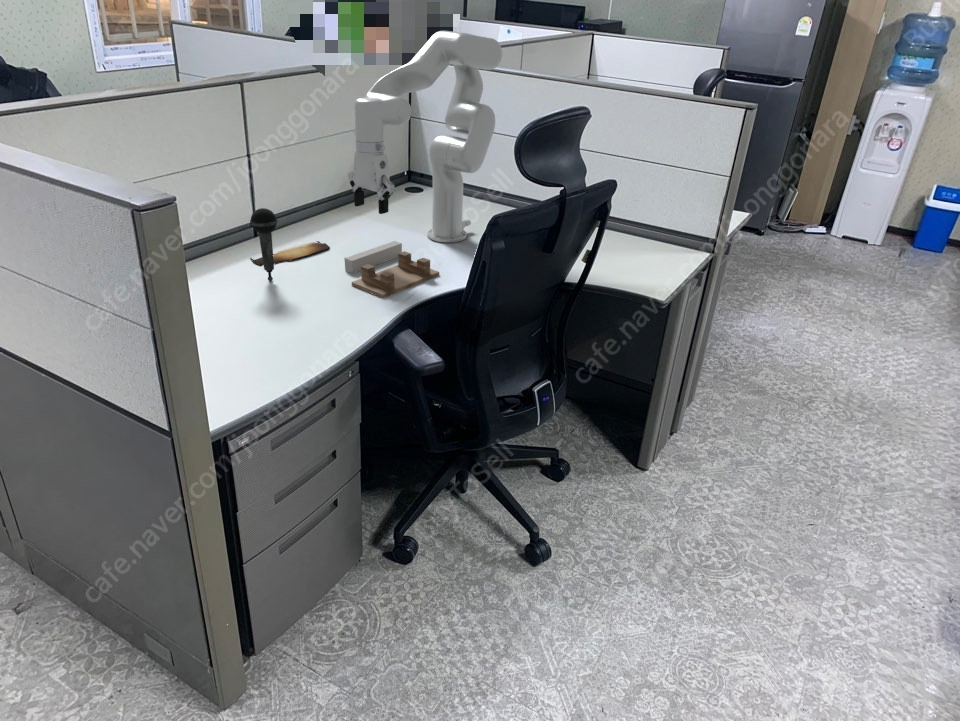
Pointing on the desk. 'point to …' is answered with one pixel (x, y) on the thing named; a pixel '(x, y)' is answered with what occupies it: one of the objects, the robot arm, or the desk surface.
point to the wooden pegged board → (395, 276)
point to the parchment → (295, 252)
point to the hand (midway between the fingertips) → (371, 209)
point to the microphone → (265, 236)
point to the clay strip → (372, 256)
